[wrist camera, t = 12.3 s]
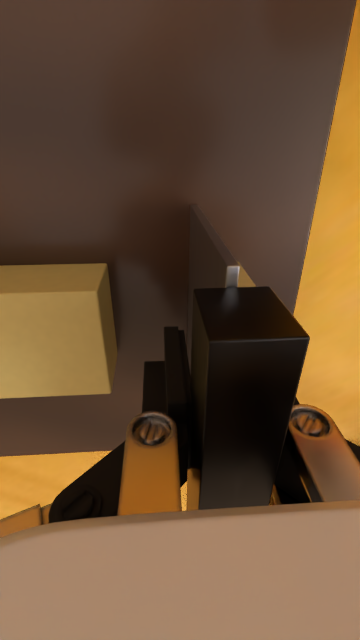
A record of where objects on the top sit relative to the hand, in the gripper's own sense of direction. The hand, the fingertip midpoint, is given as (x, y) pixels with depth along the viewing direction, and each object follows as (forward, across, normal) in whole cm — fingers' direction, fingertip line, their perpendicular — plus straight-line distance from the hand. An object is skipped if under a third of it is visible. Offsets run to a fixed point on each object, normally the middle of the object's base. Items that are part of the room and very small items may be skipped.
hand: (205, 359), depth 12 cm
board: (+5, +4, -1) cm, 7 cm away
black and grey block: (+4, 0, 0) cm, 4 cm away
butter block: (+4, +7, 0) cm, 8 cm away
